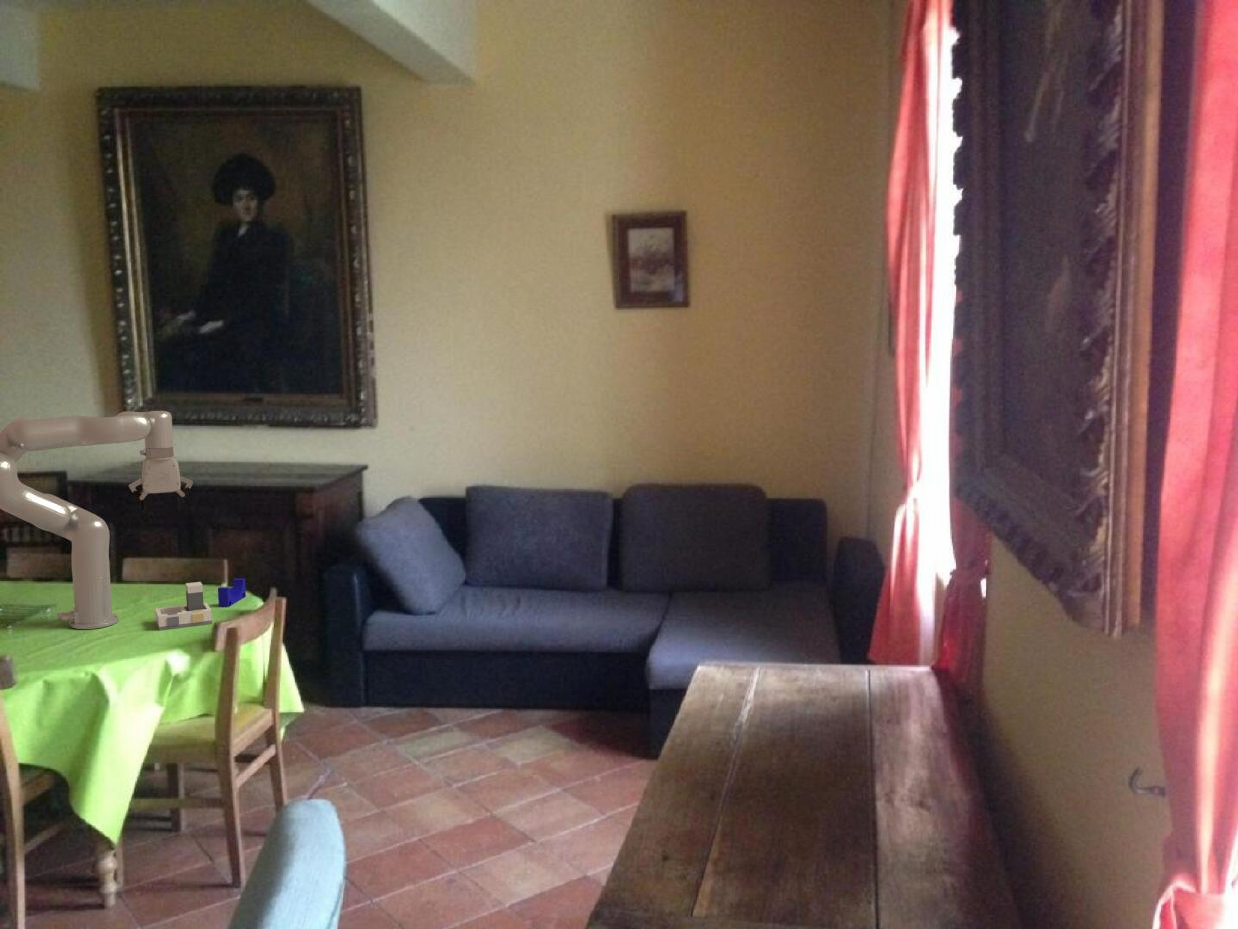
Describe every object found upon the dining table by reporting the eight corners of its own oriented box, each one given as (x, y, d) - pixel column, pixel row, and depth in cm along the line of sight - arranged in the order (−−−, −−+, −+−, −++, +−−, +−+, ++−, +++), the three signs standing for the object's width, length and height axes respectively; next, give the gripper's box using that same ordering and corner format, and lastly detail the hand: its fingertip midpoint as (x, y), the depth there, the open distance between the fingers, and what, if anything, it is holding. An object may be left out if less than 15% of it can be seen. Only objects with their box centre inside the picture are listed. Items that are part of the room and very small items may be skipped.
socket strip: (159, 630, 297) (158, 616, 297) (155, 622, 305) (154, 607, 305) (212, 623, 304) (211, 609, 304) (207, 615, 312) (206, 601, 312)
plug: (189, 620, 304) (187, 586, 302) (187, 617, 307) (185, 583, 306) (204, 618, 306) (202, 585, 304) (202, 615, 309) (200, 581, 308)
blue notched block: (232, 596, 333) (231, 578, 332) (245, 597, 333) (245, 578, 332) (214, 607, 321) (213, 588, 320) (228, 608, 321) (227, 588, 320)
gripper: (128, 456, 302) (131, 515, 305) (193, 453, 311) (195, 510, 313) (125, 453, 309) (129, 511, 311) (189, 450, 317) (192, 506, 320)
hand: (162, 511), depth 312 cm, fingers open, 9 cm apart
